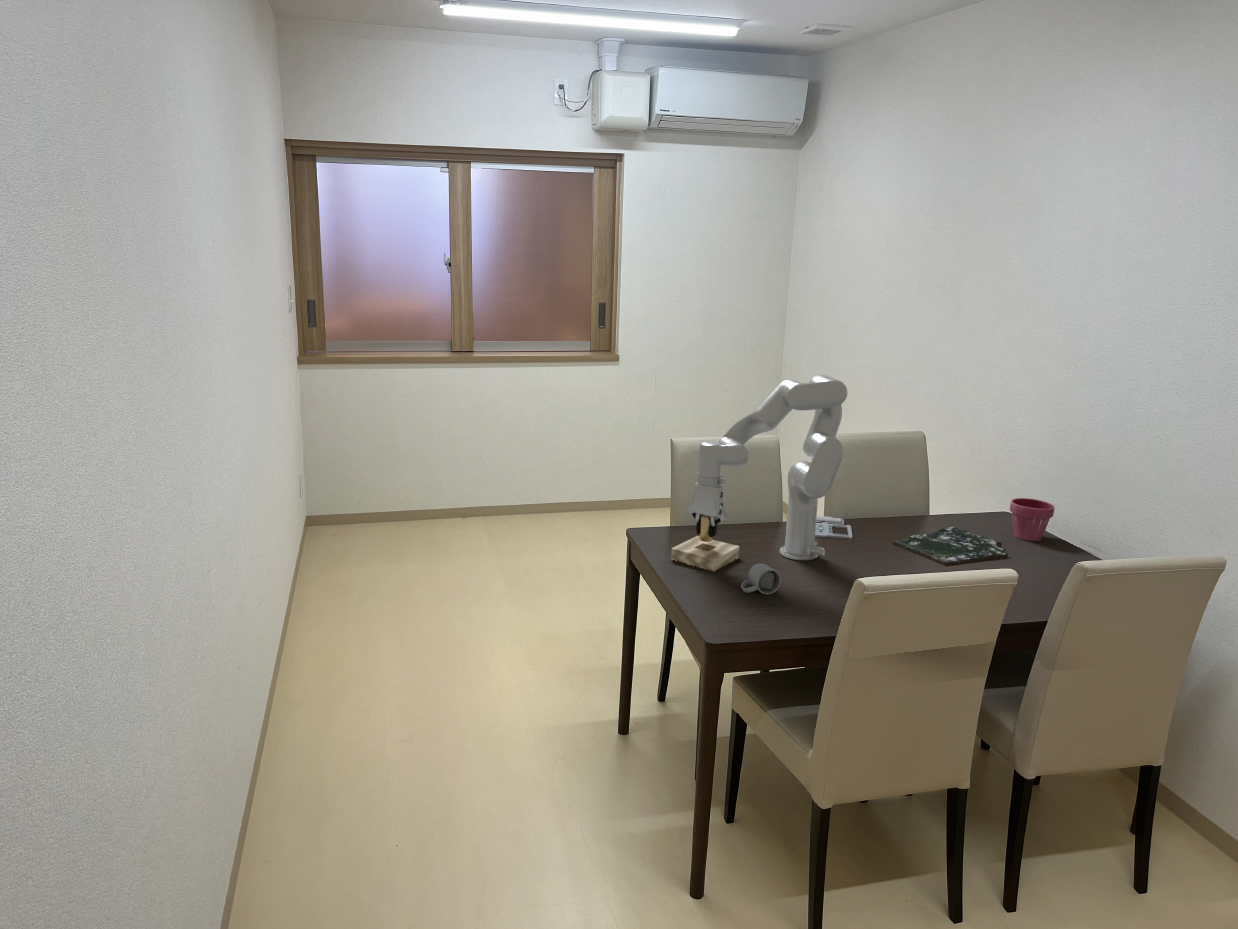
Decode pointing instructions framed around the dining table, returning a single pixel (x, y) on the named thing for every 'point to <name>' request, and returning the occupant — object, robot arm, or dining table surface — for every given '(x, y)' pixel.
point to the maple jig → (705, 553)
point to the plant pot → (1030, 518)
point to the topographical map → (952, 546)
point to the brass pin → (705, 528)
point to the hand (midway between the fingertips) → (706, 534)
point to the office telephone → (826, 529)
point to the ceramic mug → (762, 579)
